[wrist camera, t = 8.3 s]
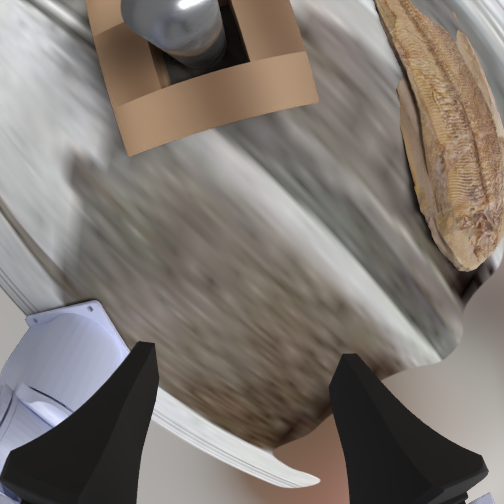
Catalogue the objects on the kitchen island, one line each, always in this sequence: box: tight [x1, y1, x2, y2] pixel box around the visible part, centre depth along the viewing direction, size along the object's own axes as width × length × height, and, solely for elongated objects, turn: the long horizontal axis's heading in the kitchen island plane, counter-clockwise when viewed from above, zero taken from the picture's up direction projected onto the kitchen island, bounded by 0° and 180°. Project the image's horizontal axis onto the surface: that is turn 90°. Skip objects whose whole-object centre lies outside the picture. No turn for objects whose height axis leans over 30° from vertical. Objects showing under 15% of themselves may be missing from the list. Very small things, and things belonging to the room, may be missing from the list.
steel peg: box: [120, 0, 227, 70], centre depth 11 cm, size 3×3×9 cm
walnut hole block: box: [85, 0, 319, 157], centre depth 13 cm, size 10×10×3 cm
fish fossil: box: [374, 0, 504, 272], centre depth 16 cm, size 26×10×1 cm, turn 31°
